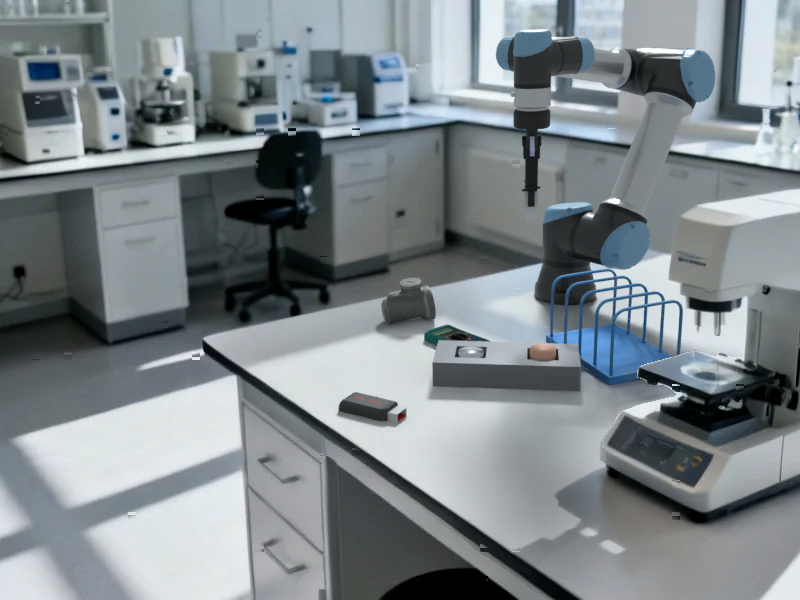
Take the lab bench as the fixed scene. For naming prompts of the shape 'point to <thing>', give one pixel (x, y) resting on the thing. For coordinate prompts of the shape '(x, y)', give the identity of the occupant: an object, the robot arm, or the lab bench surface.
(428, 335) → the digital multimeter
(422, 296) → the pipe fitting
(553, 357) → the peach rounded dome part
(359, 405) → the usb drive
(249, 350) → the lab bench surface
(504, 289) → the lab bench surface
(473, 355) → the steel plunger
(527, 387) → the block
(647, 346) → the file sorter
